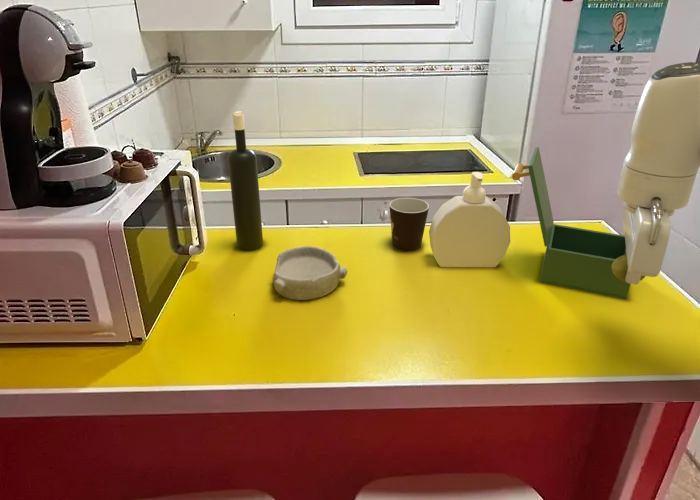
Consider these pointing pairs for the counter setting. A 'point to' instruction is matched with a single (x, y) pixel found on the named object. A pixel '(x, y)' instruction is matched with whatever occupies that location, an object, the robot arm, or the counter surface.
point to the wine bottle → (245, 190)
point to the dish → (307, 273)
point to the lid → (538, 192)
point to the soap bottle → (469, 230)
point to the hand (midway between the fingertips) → (630, 273)
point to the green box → (584, 260)
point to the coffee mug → (408, 223)
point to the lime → (621, 268)
